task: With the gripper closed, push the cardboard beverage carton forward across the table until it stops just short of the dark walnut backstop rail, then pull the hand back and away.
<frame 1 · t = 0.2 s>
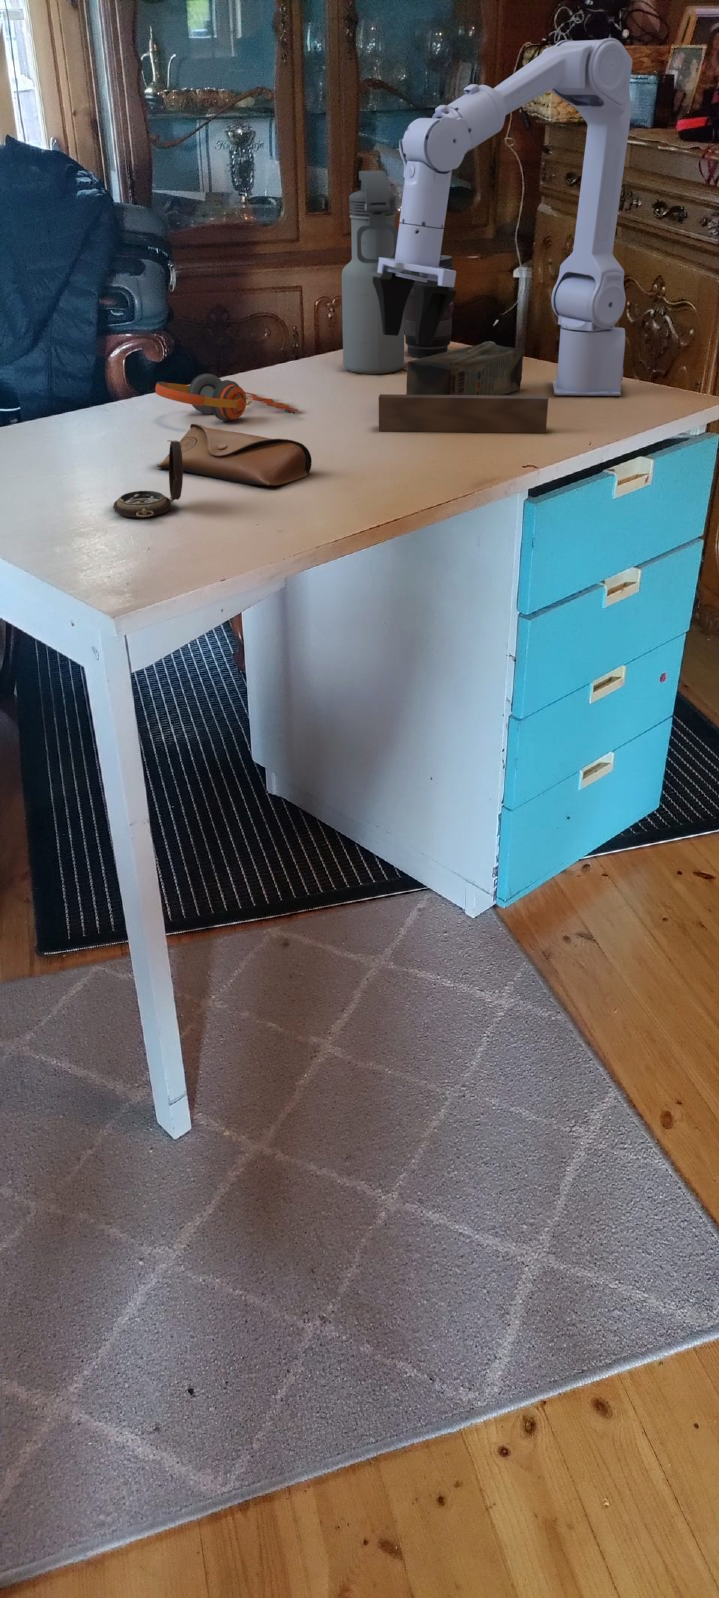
hand: (406, 339, 157), 10 cm above the table, tool pointing down, fingers open, 7 cm apart
compass: (151, 514, 130), on the table
beverage carton: (464, 400, 172), on the table
water bottle: (373, 370, 191), on the table
sunglasses case: (232, 472, 143), on the table
camera lens: (427, 355, 200), on the table
headphones: (226, 416, 166), on the table
backstop rail: (461, 430, 157), on the table
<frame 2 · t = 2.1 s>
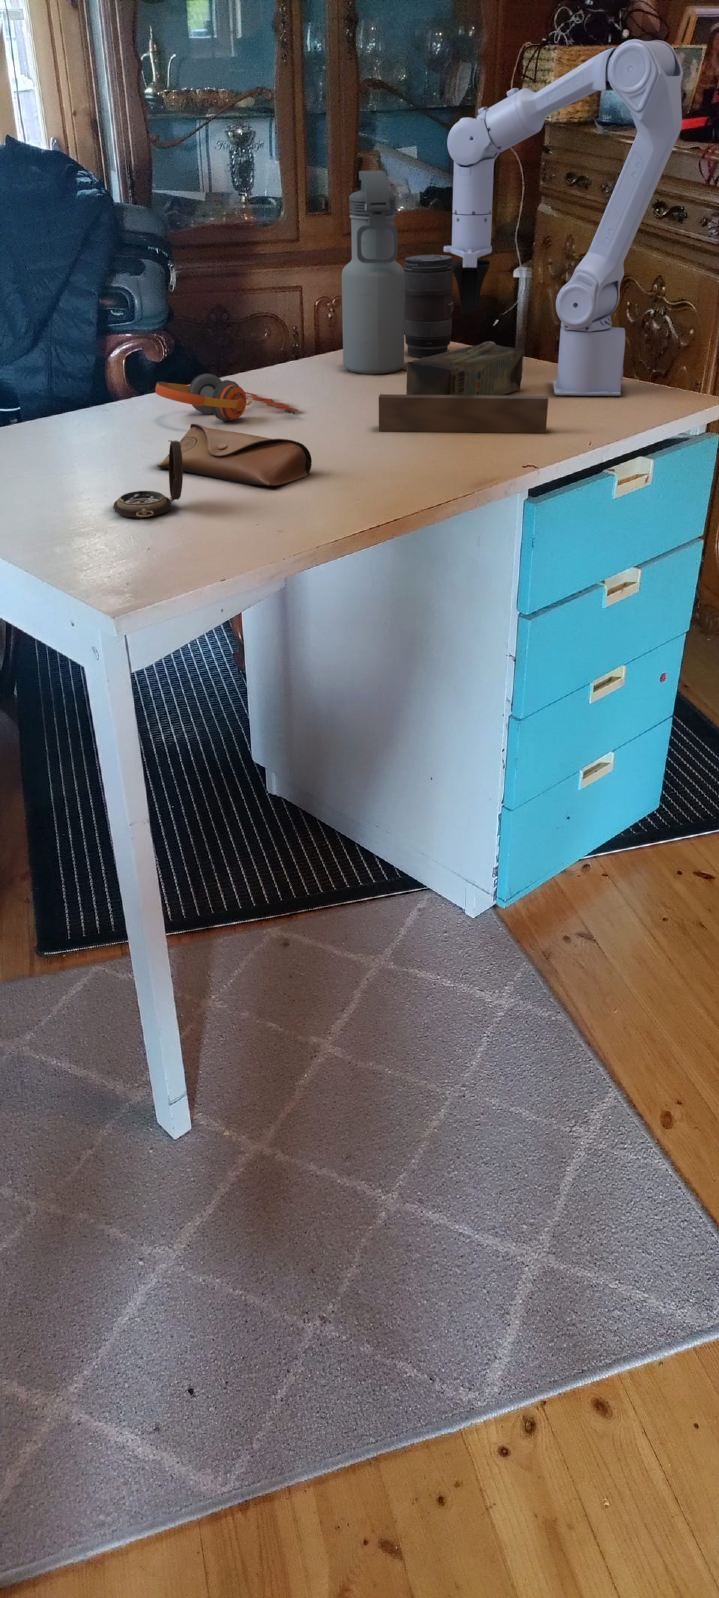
hand: (468, 313, 179), 9 cm above the table, tool pointing down, fingers closed
nothing on the table moved.
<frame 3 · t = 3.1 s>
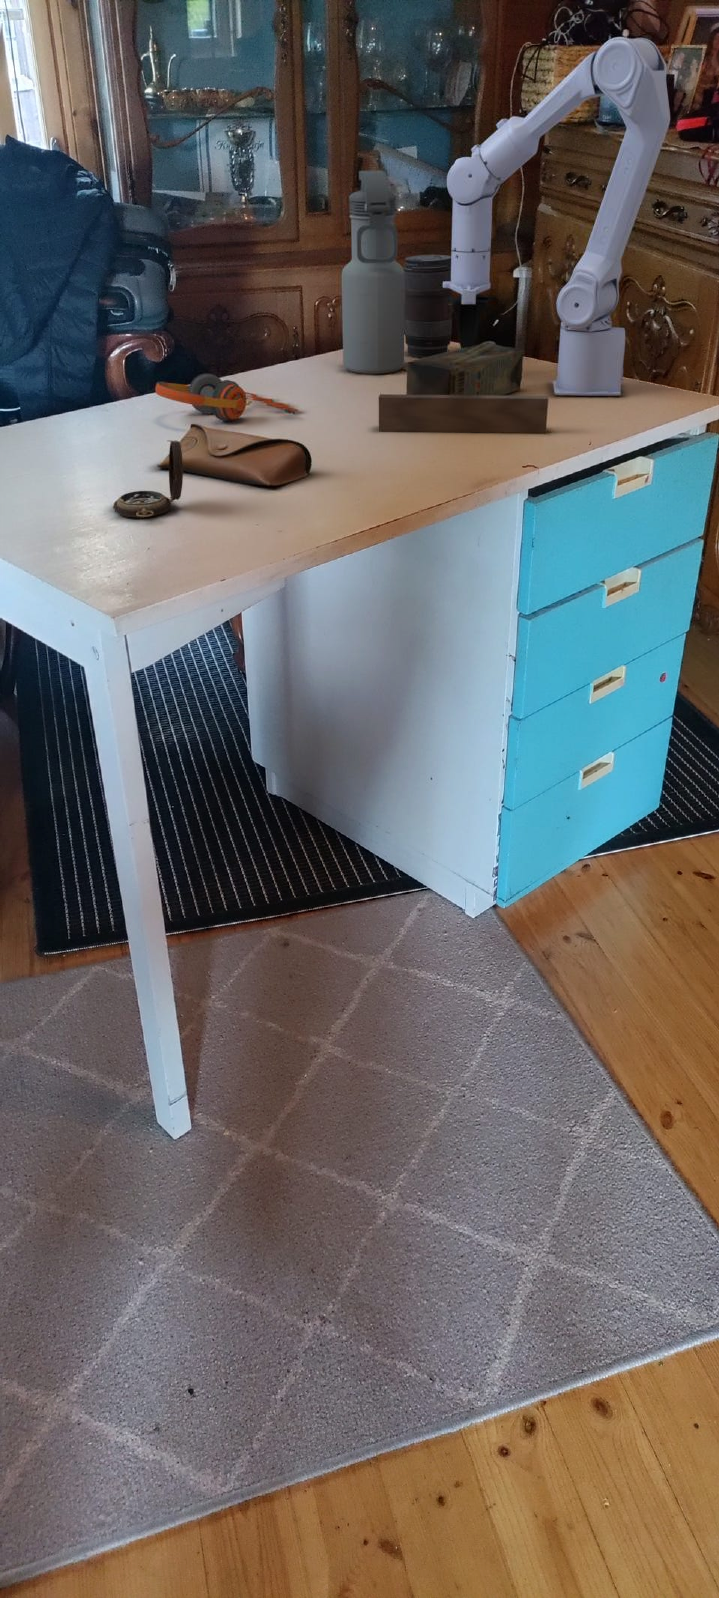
hand: (467, 347, 181), 5 cm above the table, tool pointing down, fingers closed
nothing on the table moved.
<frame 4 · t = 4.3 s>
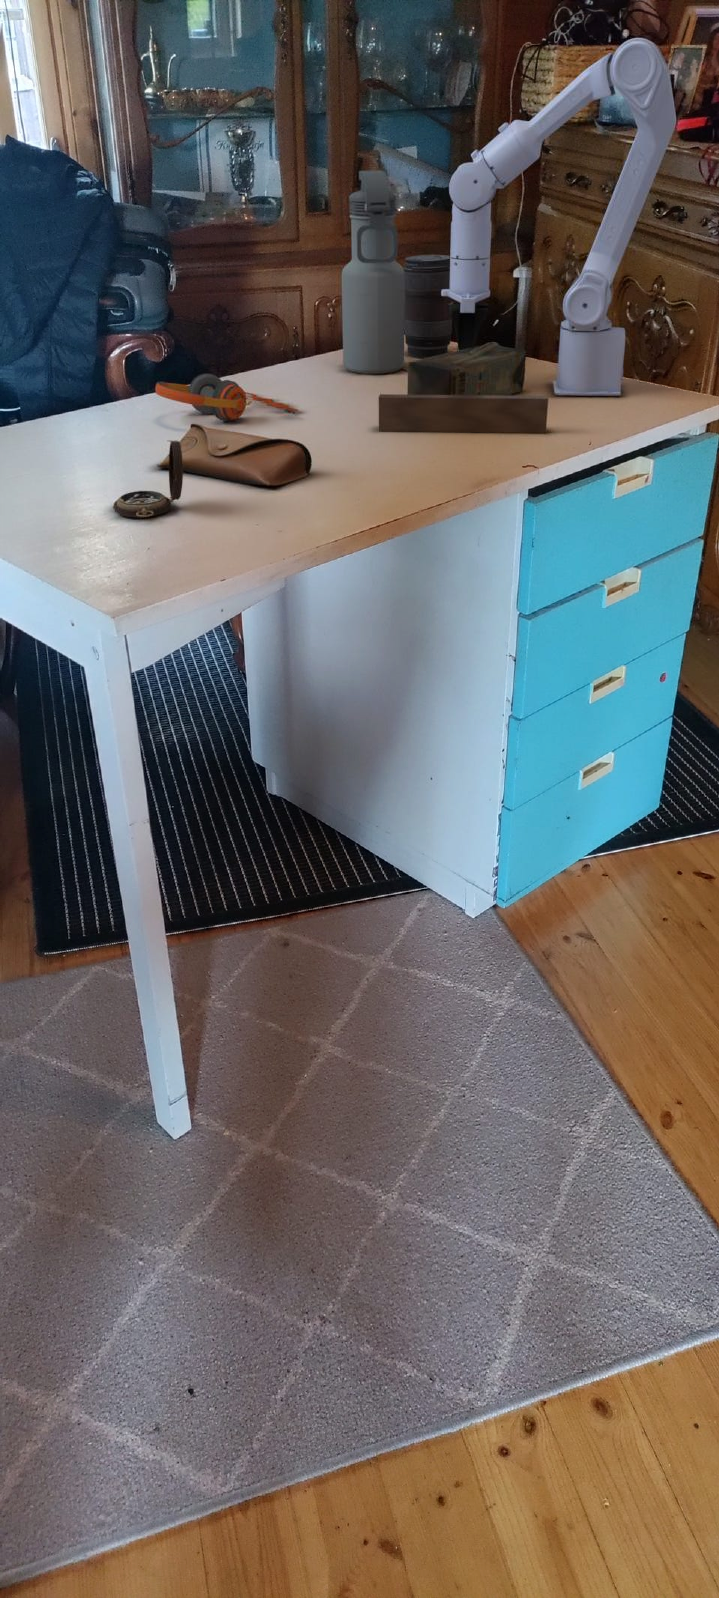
hand: (466, 356, 177), 4 cm above the table, tool pointing down, fingers closed
beverage carton: (466, 401, 172), on the table, touching gripper
everything else where it was.
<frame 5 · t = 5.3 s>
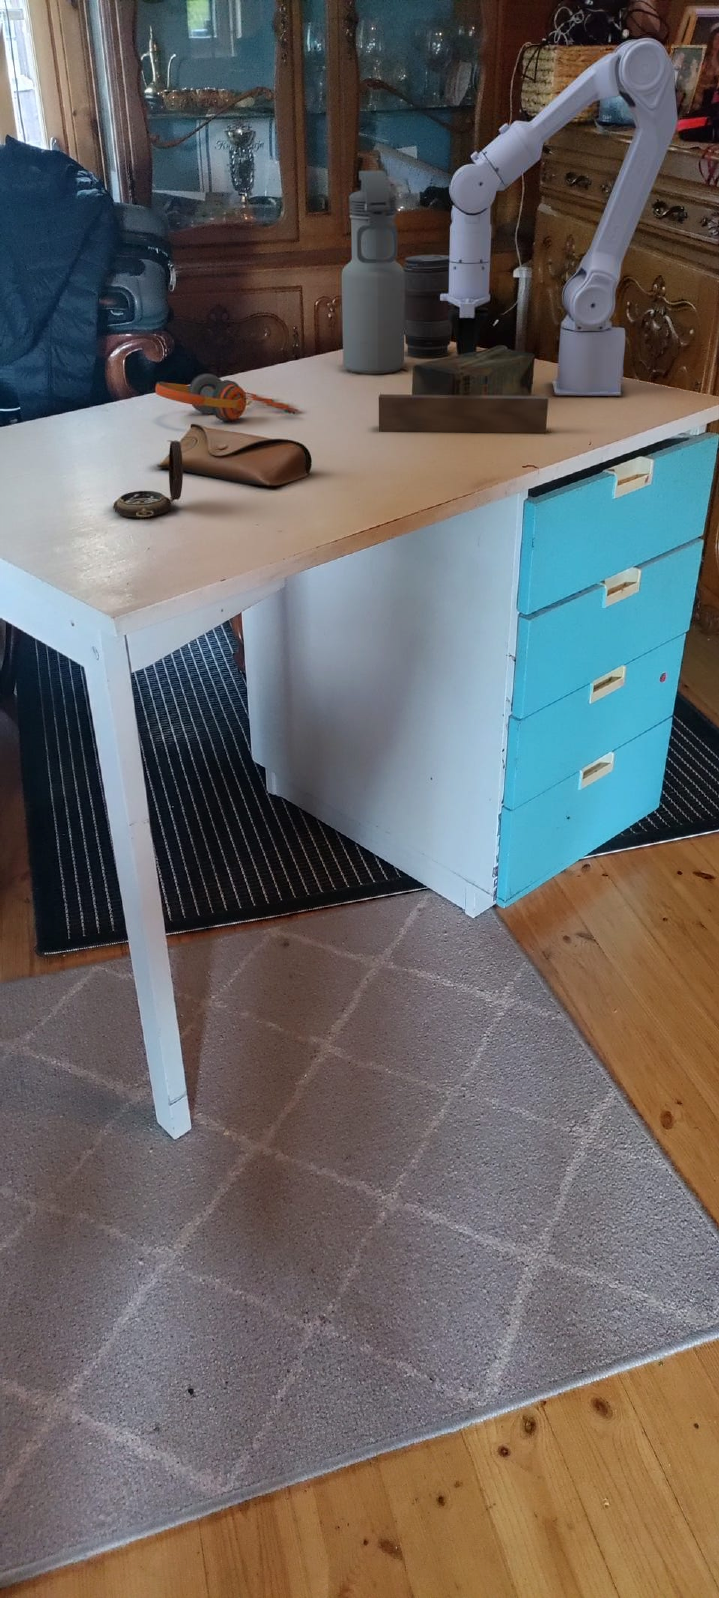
hand: (466, 362, 174), 4 cm above the table, tool pointing down, fingers closed
beverage carton: (472, 405, 170), on the table, touching gripper
everything else where it was.
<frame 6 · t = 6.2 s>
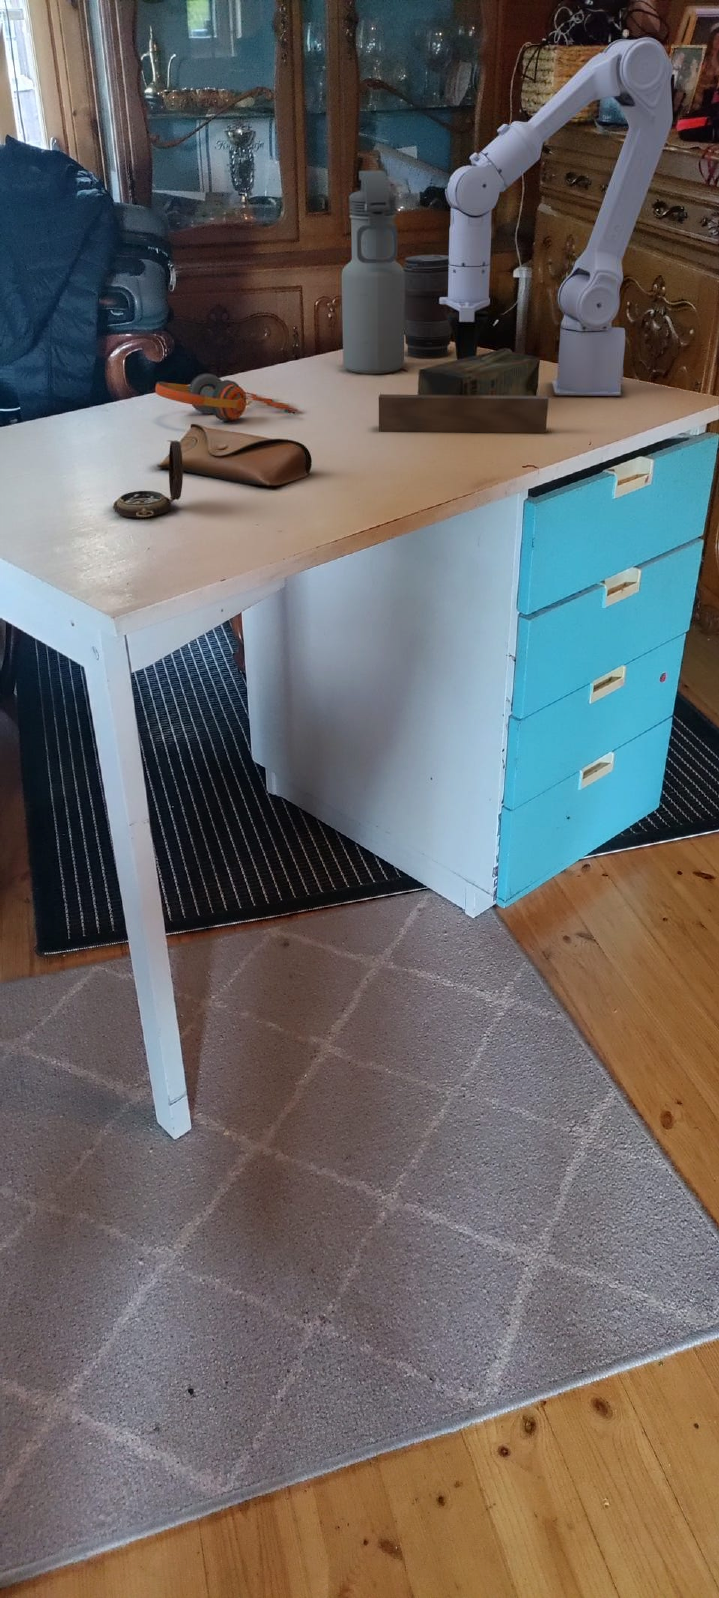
hand: (465, 366, 171), 4 cm above the table, tool pointing down, fingers closed
beverage carton: (478, 408, 168), on the table, touching gripper
everything else where it was.
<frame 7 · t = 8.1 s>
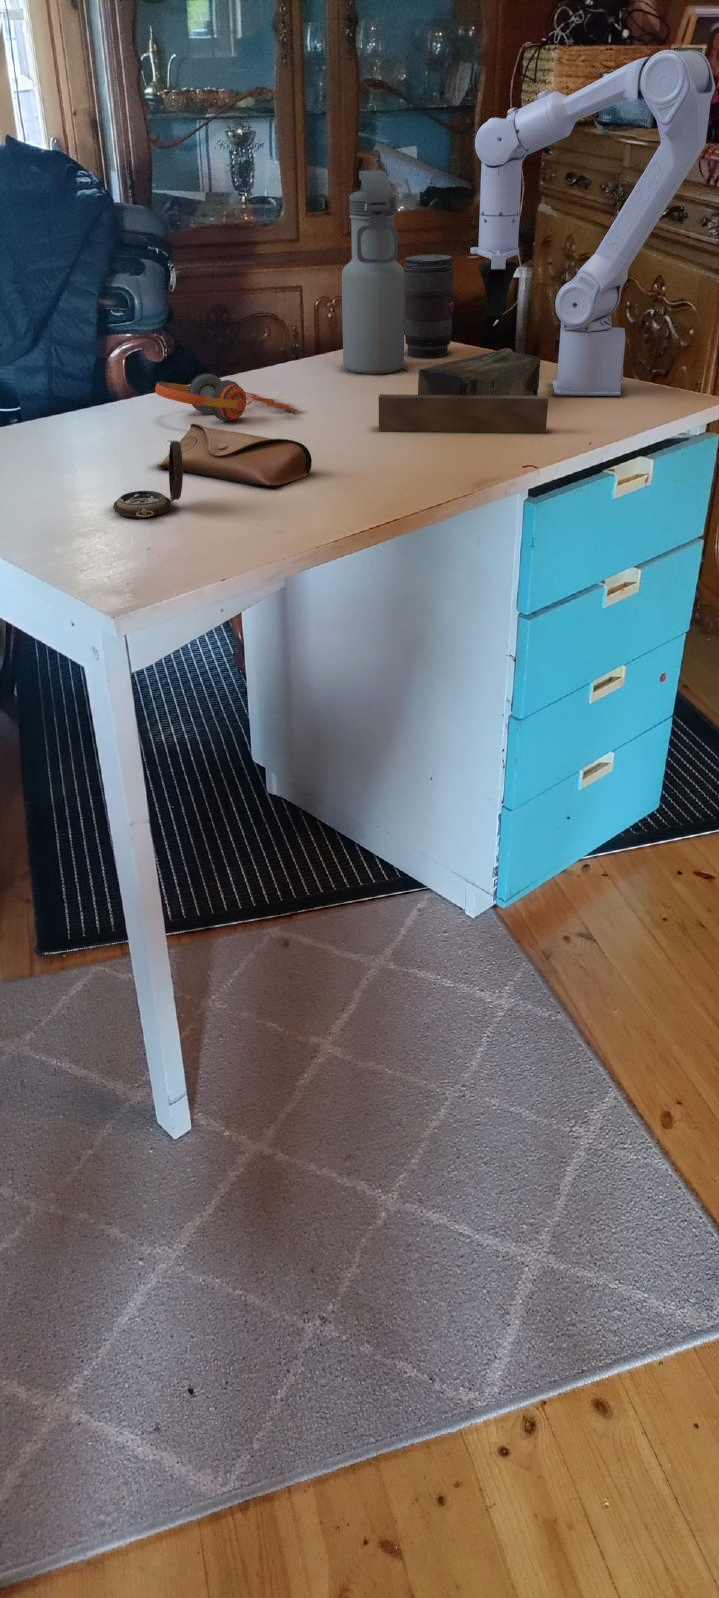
hand: (495, 315, 178), 9 cm above the table, tool pointing down, fingers closed
beverage carton: (478, 408, 168), on the table
everything else where it was.
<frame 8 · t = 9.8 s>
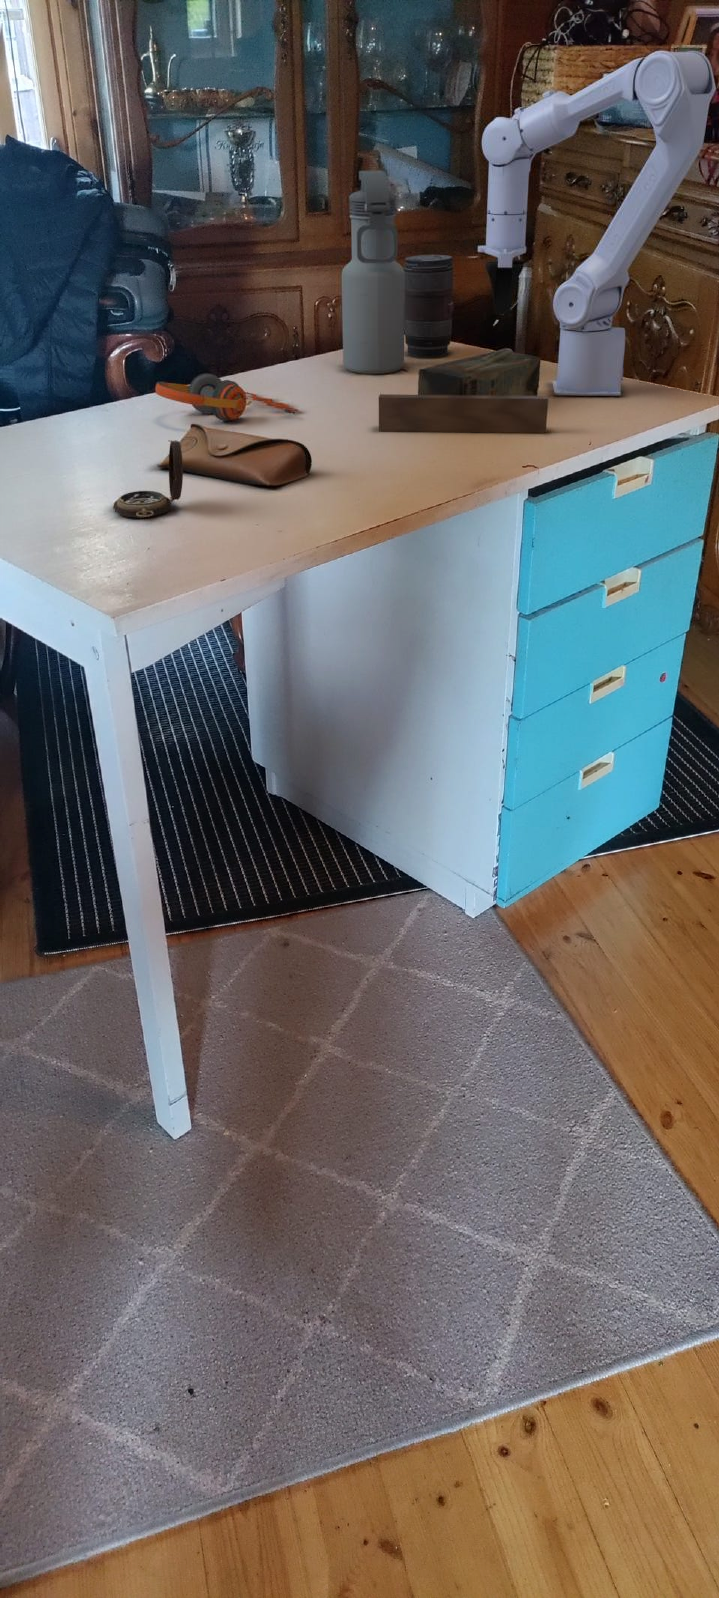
hand: (502, 313, 179), 9 cm above the table, tool pointing down, fingers closed
nothing on the table moved.
at the end: beverage carton inside the target area (3.5 cm from its centre), on the table; beverage carton moved 5.4 cm from its start; beverage carton tilted 0° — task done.
